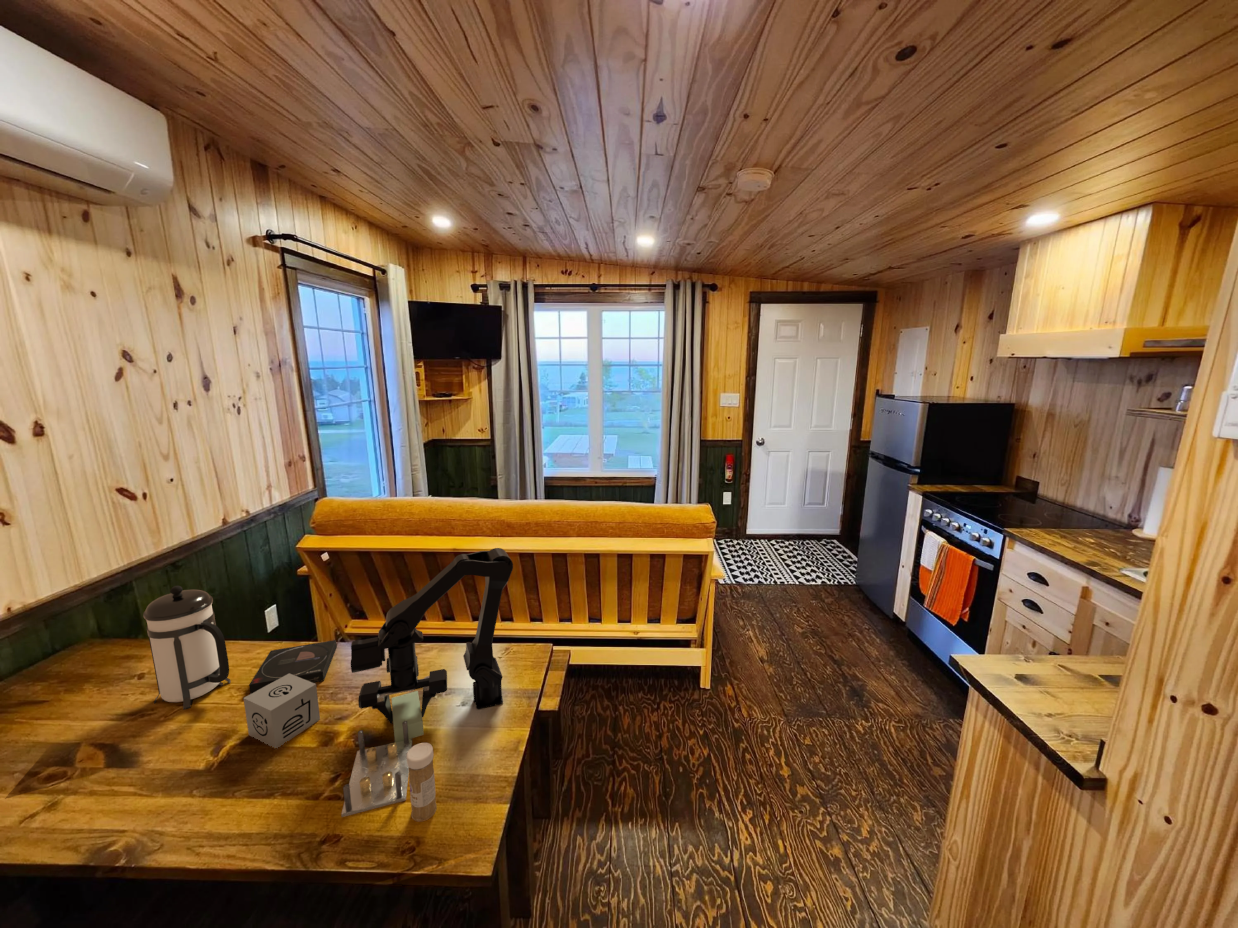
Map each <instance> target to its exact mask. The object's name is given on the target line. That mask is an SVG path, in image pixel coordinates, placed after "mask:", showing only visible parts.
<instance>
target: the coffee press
mask: <svg viewBox="0 0 1238 928" xmlns="http://www.w3.org/2000/svg"><path fill="white" fill-rule="evenodd" d="M169 592H170V593H167V594H164V595H161V596H159V597H158V598H156V599H154V600H152V601H151V602H150V603H149V604H148V605H147V606H146V609H145V611H144V612H143V615H142V616H143V618H144V619H145V621H146V623H147V626H146V632H147V636H148V641H149V645H150V650H151V657H152V663H153V669H154V672H155V673H154V675H155V678H156V684H157V690H158V694H157V696H156V697H155V699H154V701H153V704H156V703H157V699H158V698H159V696H160V698H161V699H162V700H161V702H162V703H163V702H164V701H165V702H169V703H181V702H183V703H182V709H183V711H185V710H189V709H191V706H192V705H193V699H196V698H199V697H201V696H204V695H205V694H208V693H209V692H210V691H212V690H214V689H215V688H216V687H217V686H220V687H223V684H224V682H223V681H225V682H227V683H228V684H231V679H230V678H228V677H229V674H230V666H229V665H230V664H229V656H228V650H227V645H226V640H225V637H224V634H223V632H222V631H221V629H220V627H218V626H217V623H216V619H215V618H216V617H215V616H216V615H215V612H214V609H213V606H212V604H213V602H214V598H213V596H211V594H209V593H208V592H206V591H205V590H200V589H184V590H183V587H182V586H180V585H174V586H173V587H171V588H170V590H169Z"/></svg>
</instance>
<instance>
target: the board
mask: <svg viewBox="0 0 1238 928" xmlns="http://www.w3.org/2000/svg"><path fill="white" fill-rule="evenodd" d="M391 708H392V713H393V724H392V725H393V732H394V733H393V736H394V743H396V742H400V741H404V737H403V725H402V723H403V722H404V721H407V724H408V737H409V739H414V738H417V737H421V736H424V734H425V733H424V721H423V717H422V713H421V709H422V706H421V702H420V697H419V691H418V690H414V691H410V692H409V693H408V692H407V693H405V694H401V695H398V696H393V697H391Z"/></svg>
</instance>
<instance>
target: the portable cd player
mask: <svg viewBox="0 0 1238 928" xmlns="http://www.w3.org/2000/svg"><path fill="white" fill-rule="evenodd" d="M337 648H338V645H337V640H336V639H333V640H327V641H320V642H315V643H309V644H302V645H295V646H290V647H284V648H278V649H273V650H270V651H269V652H268V654H267V656H266V657H265V659H264V660H263V662H262V664H261V665H260V667H259V669H257V672H256V673H255V675H254V676H253V678H252V679H251V681H250V682H249V683H248V684H249V685H248V686H249V693H250V694H252V693H254V692H256V691H257V690H259V689H261V688H263V687H265V686H267V685H269V684H270V683H272V682H274V681H276V680H278V679H280V678H282V677H283V676H285V675H287V674H289V673H290V674H292V675H295V676H297V677H300V678H302V679H305V680H307V681H310V682H312V683H315V684H317V683H321V682H324V681H325V679H326V677H327V674H328V672H329V669H330V666H331V663H332V661H333V658H334V656H335V653H336V651H337ZM250 694H249V695H250Z"/></svg>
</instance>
